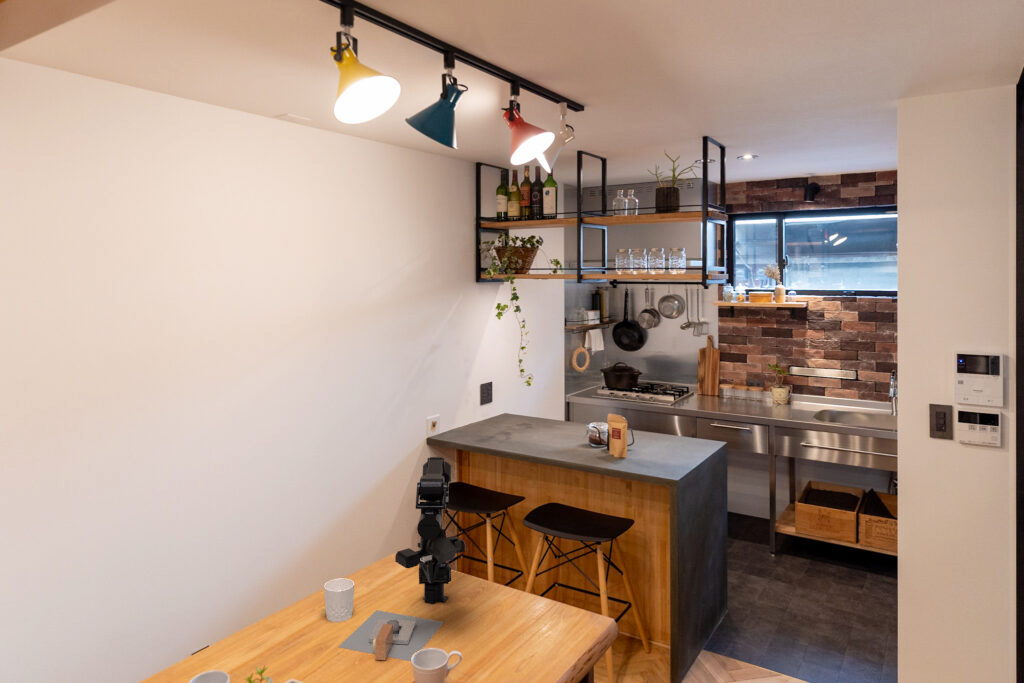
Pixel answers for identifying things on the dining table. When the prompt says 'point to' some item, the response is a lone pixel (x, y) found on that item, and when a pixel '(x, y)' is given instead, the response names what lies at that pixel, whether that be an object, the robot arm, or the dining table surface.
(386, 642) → the flange plate
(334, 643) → the dining table surface
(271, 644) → the dining table surface
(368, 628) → the slate board
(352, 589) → the white cup
